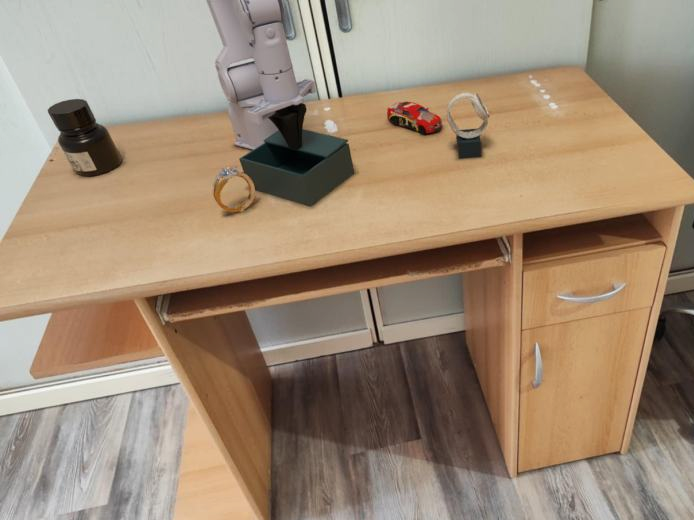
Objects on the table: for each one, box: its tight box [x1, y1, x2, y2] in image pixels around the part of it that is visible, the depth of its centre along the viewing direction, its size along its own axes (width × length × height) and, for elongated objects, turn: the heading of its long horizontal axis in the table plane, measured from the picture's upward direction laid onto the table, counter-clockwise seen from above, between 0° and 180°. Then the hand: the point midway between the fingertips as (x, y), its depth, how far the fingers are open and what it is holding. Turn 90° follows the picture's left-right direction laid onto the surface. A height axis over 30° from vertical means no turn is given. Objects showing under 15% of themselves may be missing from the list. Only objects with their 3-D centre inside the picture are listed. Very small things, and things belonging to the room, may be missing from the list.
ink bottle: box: [47, 98, 122, 177], centre depth 111 cm, size 10×9×12 cm
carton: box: [238, 142, 355, 207], centre depth 106 cm, size 13×15×6 cm
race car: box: [386, 101, 443, 135], centre depth 121 cm, size 13×5×4 cm, turn 50°
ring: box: [212, 166, 256, 213], centre depth 99 cm, size 7×3×8 cm, turn 127°
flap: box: [264, 128, 349, 158], centre depth 105 cm, size 6×15×1 cm, turn 60°
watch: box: [446, 91, 490, 160], centre depth 109 cm, size 6×8×11 cm
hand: (295, 147), depth 104 cm, fingers closed, pressing on flap
